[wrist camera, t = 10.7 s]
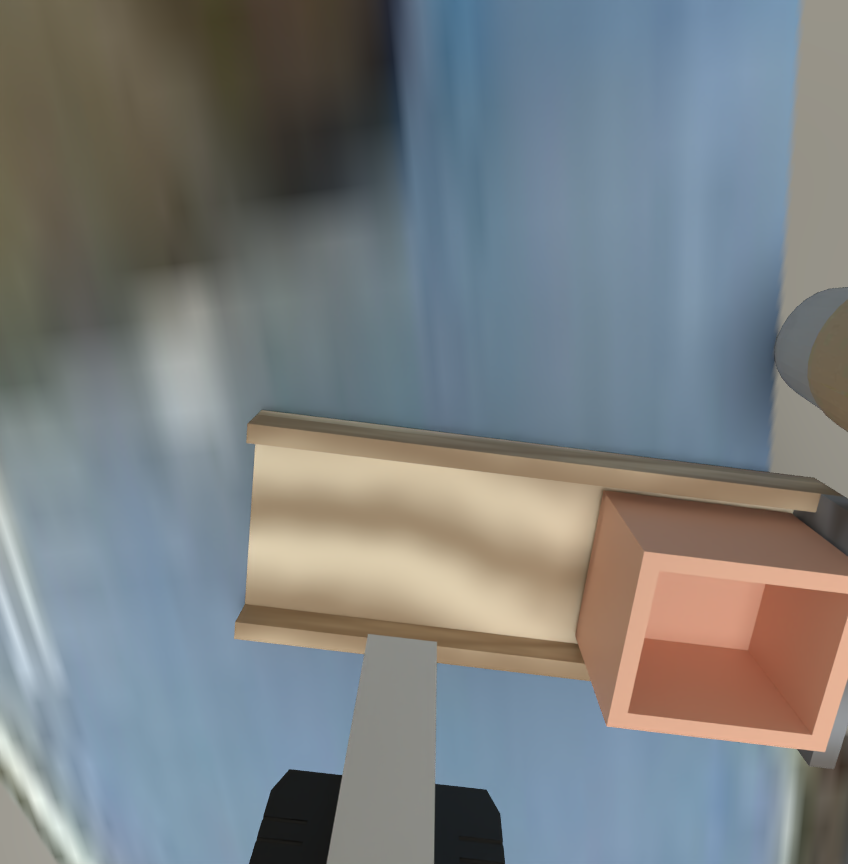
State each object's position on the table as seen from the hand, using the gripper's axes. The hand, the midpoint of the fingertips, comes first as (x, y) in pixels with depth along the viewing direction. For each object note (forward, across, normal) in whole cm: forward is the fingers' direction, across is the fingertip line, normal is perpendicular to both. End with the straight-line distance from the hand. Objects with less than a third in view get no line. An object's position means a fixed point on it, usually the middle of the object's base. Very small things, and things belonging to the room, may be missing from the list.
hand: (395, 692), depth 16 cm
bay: (+24, +6, -7) cm, 25 cm away
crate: (+22, +15, -7) cm, 28 cm away
